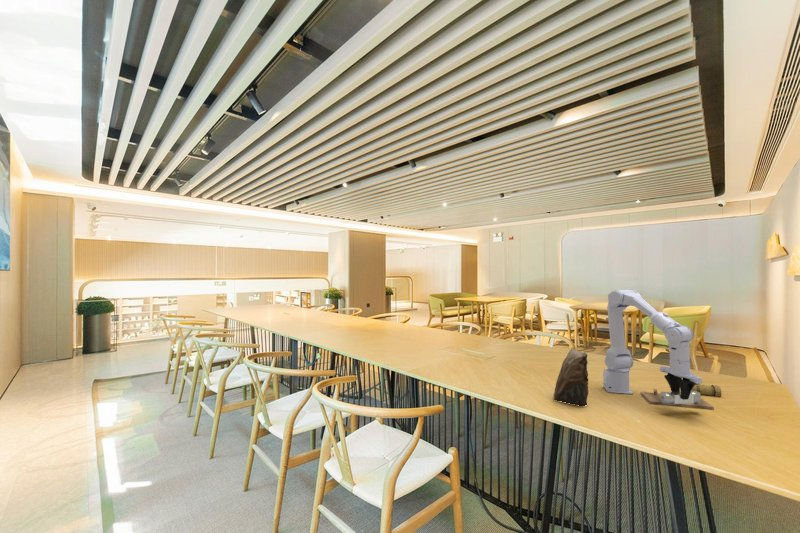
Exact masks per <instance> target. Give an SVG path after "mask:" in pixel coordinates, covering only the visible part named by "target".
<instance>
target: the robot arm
mask: <svg viewBox="0 0 800 533" xmlns="http://www.w3.org/2000/svg"><path fill="white" fill-rule="evenodd" d="M641 295H642V294H641V293H639V292H638V291H637V290H635V289H632V288H631V289H613V290H612V291H610V293H608V295H607V298H608V299H607V300H608V303H607V306H606V307H607V318H608V319H607V320H608V329H609V330H608V331H609V343H610V347H609V348H608V349H607V350H606V351H605V357H604V364H605V366H606V367H607V368H604V369H603V371H602V373H603V374H602V375H603V377H602V378H603V382H602V383H603V388H604V389H605V391H606V392H608V393H616V394H626V395H627V394H629V395H633V394H634V393H633V391H632V390H631V388H630V371H631V368H633V367H634V359H633V357H632V354H631V351H630V350H629V349H628V348H627V347H626V340H625V339H626V336H625V327H624V326H625V325H624V314H623V311H624V310H626V308H628V307H630V306H631V307H635V308H636V309H637V310H638V311H639V312H642V313H643V314H644V315H645V316H647V317H648V318H650V323H651V324H653V325H654V326H655V327H656V328H657V330H659V331H661V332H662V333H663V334H664V337H665V339H666V340H667V345H668V348H669V350H668V352H669V367H668V366H665V365H662V366H661V365H660V367H659V369H660V370H659V371H660V372H661V373H665V375H664V378H665V380H666V382H667V383H668V386H669V388H670V390H671V391H670V392H678V391H681V398H682V399H683V400H686V399H689V395H690V393H691V390H692V388H693V387H694V386H695V384H700V385H703V378H702V377H701V376H697V375H696V374H694V373H692V371H691V356H690V355H691V354H690V353H691V352H690V350H691V349H690V342H691V341H693V339H694V333H693V331H692V329H690V327H689V326H687V325H682V324H680V323H679V322H677V321H675V320H674V319H673V318H671V317H670V316H669V315H670V314H669V313H667V312H663V311H657V310H656V309H655V308H654V307H653V306H652V305H651V304H649V303H648V302H647V301H646V300H645V299H644V298H643V297H642V296H641Z"/></svg>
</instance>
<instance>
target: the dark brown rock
mask: <svg viewBox="0 0 800 533" xmlns="http://www.w3.org/2000/svg"><path fill="white" fill-rule="evenodd" d="M588 363H589V362H588V354H587V353H586V352H583V351H579V350H577V349H576V348H572V347H570V350H569V352H568V353H567V355H566V357H565V358H564V360H563V361H562V364H561V367H560V371H559V373H558V376H557V379H556V382H555V388H554V392H553V401H554V400H557V401H562V402H566V403H565V404H567V403H570V404H575V405H574V406H576V405H579V406H585V405H587V403H588V402H587V401H588V396H589V378H588V377H589V374H588V373H589V372H588ZM557 401H556V402H557ZM562 402H561V403H562ZM570 404H569V405H570ZM579 406H578V407H579ZM587 406H588V405H587Z"/></svg>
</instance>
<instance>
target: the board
mask: <svg viewBox="0 0 800 533" xmlns="http://www.w3.org/2000/svg"><path fill="white" fill-rule="evenodd" d="M660 393H661V392H658V389H657V388H653V392H647V391H640V393H639V394H640V395H641V396H642V397H643V398H644V399H645V400H646V402H647V403H648V404H650V405H660V406H671V407H682V408H692V409H702V410H704V409H705V410H711V411H712V410H713V411H714V410H715V407H714V406H713V405H711V404H710V403H709V402H708V401H706V400H704V399H703V398H701V403H684V404H674V405H668V404H664V403H662V402H661V394H660Z"/></svg>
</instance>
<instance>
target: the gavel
mask: <svg viewBox="0 0 800 533" xmlns="http://www.w3.org/2000/svg"><path fill="white" fill-rule="evenodd" d="M692 391H697V392H699V393H700V396H701V395H703V396H714V397H716V398H718V397H719V398H721V396H722V394H723V393H722V389H721V387H720V386H719V385H718V384H711V385H708V384H695V386H694V387H693V388H692Z"/></svg>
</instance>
